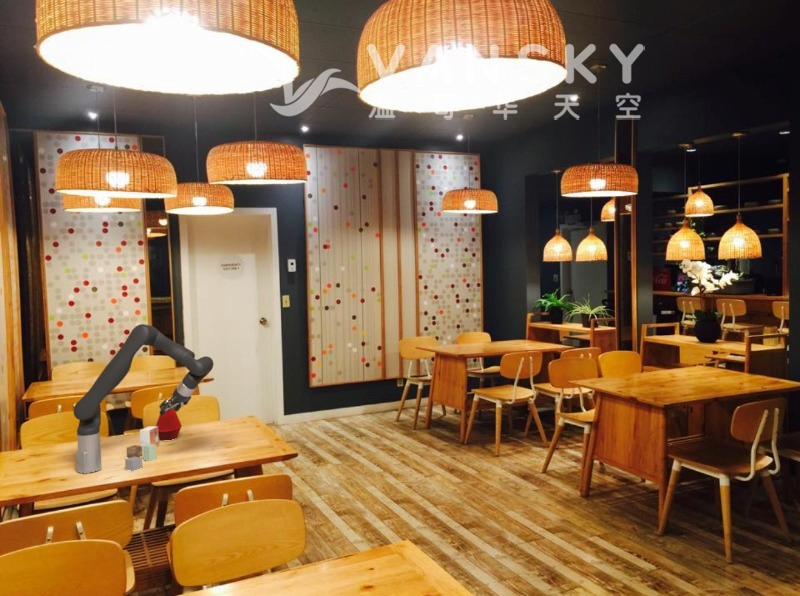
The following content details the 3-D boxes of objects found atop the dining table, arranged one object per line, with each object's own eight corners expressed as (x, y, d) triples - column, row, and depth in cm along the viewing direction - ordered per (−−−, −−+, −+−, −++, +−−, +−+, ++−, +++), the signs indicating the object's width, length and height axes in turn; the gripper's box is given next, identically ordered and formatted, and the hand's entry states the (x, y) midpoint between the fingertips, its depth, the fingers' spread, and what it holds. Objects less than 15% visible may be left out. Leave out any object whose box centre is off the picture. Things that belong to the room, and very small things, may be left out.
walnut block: (133, 459, 305) (133, 448, 305) (126, 457, 308) (126, 447, 307) (142, 456, 309) (142, 446, 309) (135, 455, 312) (135, 444, 312)
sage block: (149, 461, 300) (148, 447, 300) (143, 460, 302) (143, 446, 302) (156, 459, 304) (155, 444, 304) (150, 458, 306) (150, 443, 306)
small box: (150, 451, 318) (149, 430, 317) (140, 450, 319) (139, 430, 318) (159, 446, 326) (158, 426, 325) (149, 446, 327) (148, 425, 326)
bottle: (162, 434, 348) (160, 398, 347) (186, 434, 348) (185, 398, 346) (149, 442, 332) (148, 405, 331) (175, 442, 332) (173, 404, 331)
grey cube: (133, 471, 286) (132, 461, 286) (125, 470, 288) (125, 459, 288) (142, 468, 290) (141, 457, 290) (135, 467, 293) (134, 456, 293)
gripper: (192, 380, 296) (176, 402, 302) (167, 386, 284) (151, 409, 290) (201, 393, 294) (184, 415, 300) (176, 399, 281) (160, 421, 288)
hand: (168, 412), depth 295 cm, fingers open, 8 cm apart
